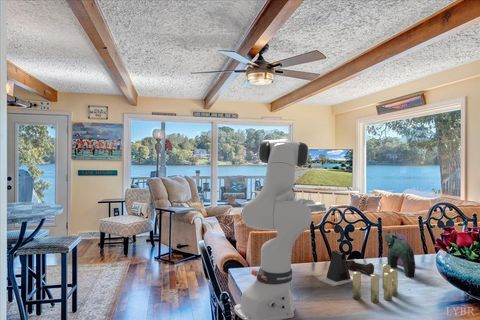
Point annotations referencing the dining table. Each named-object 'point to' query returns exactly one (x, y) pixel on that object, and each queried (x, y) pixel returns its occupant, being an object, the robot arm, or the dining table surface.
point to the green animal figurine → (400, 253)
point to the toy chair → (406, 240)
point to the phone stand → (338, 267)
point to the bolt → (360, 266)
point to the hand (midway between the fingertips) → (318, 210)
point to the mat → (333, 283)
